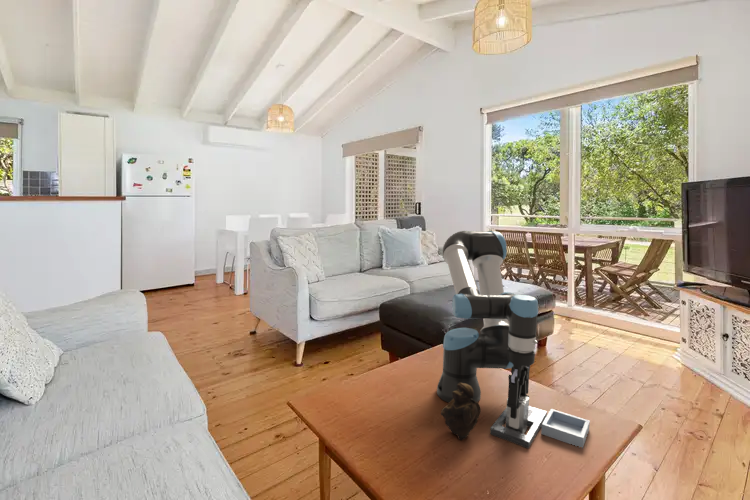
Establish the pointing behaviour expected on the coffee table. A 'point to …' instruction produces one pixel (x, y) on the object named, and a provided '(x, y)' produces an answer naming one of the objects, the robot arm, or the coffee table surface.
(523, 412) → the knob block
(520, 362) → the robot arm
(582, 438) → the tray
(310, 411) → the coffee table surface
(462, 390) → the sculpture
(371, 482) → the coffee table surface
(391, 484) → the coffee table surface
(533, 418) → the grey slotted plate
